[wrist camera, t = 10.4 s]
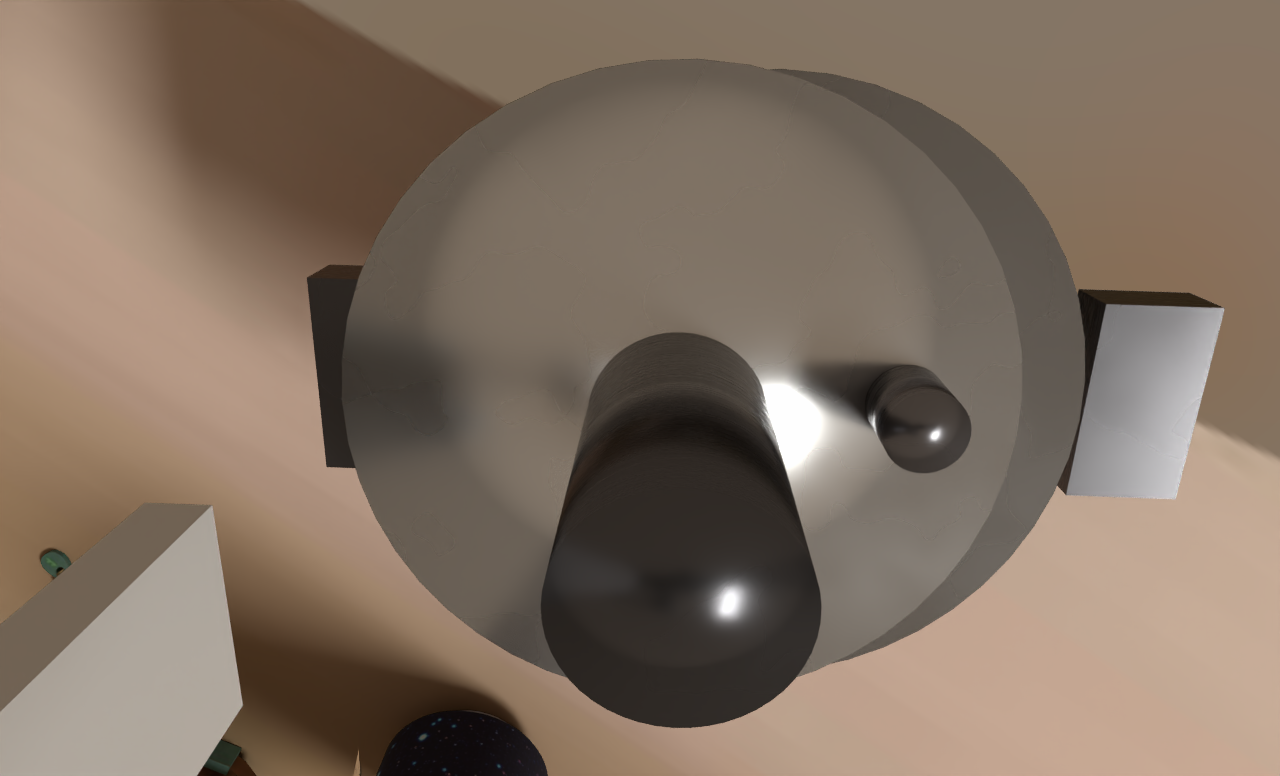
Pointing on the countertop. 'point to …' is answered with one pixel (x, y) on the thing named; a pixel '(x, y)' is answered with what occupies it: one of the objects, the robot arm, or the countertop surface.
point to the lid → (682, 382)
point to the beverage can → (461, 748)
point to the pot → (1051, 358)
